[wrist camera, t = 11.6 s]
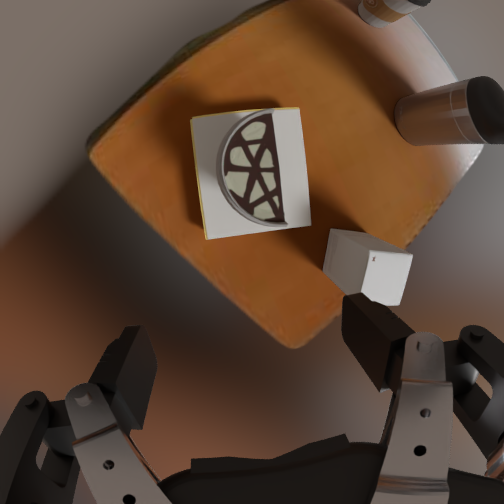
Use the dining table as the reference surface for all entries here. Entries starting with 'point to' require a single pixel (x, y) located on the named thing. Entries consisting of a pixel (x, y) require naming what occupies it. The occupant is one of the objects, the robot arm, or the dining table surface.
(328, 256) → the supplement box
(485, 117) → the robot arm
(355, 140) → the dining table surface
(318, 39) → the dining table surface
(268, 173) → the food container
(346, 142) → the dining table surface
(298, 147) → the white flat block
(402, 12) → the coffee cup
